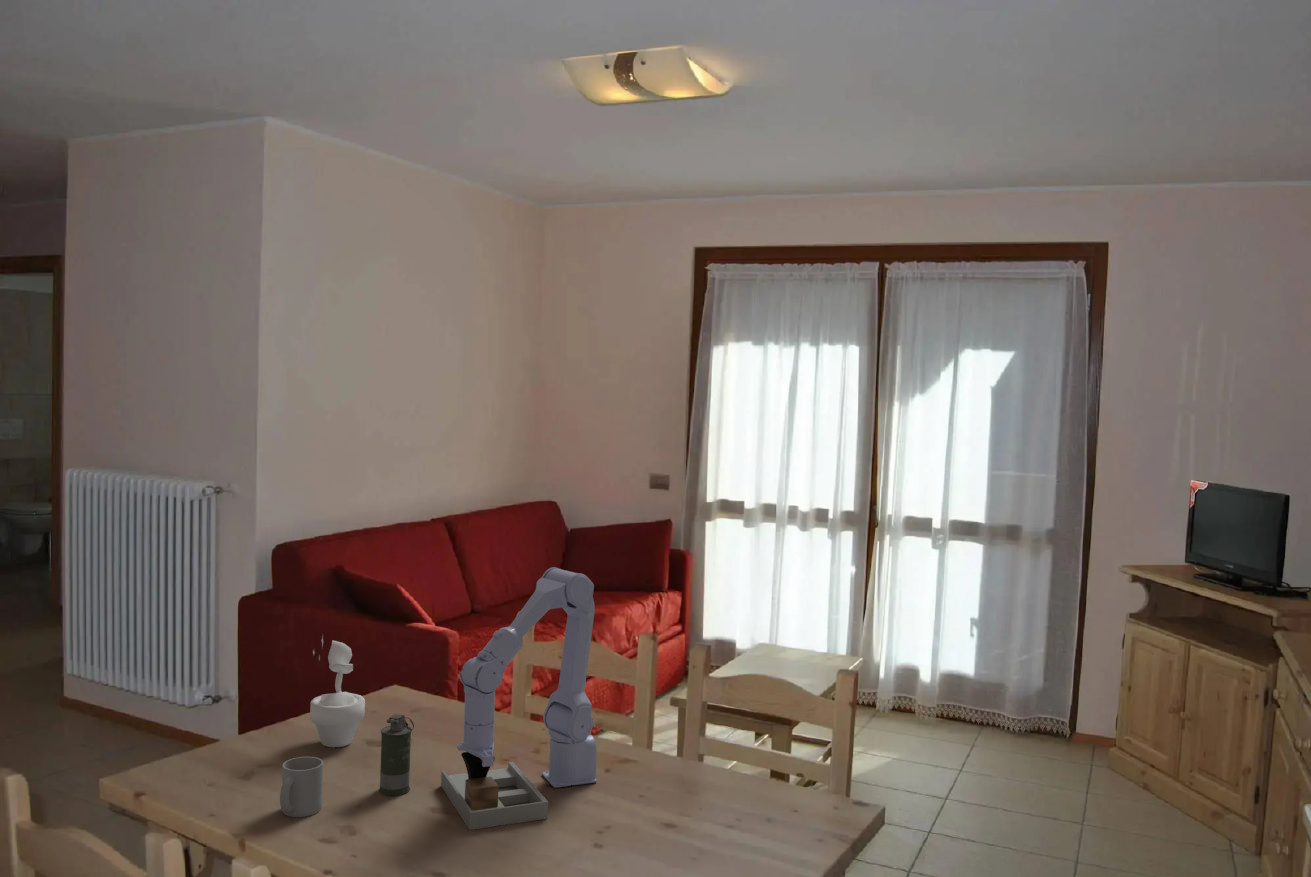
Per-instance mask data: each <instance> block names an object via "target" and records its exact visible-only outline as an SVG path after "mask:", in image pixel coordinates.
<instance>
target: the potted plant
mask: <svg viewBox="0 0 1311 877" xmlns="http://www.w3.org/2000/svg"><path fill="white" fill-rule="evenodd" d="M320 641H321V647H322V648H321V649H324V648H323V647H324V642H325V641H324V634H322V636H321V640H320ZM312 654H313V656H315V654H316V652H315V649H313V650H312ZM352 657H353V653H352V648H351V647H350V646H348V645H347V644H346V643H344V642H342V641H341V642H340V641H337V640H333V639H332V641H331V646H330V649H329V652H328V656H327V659H328V664H329V666H328V668H329V669H330V670H331V671H332V672H334V673H336V677H335V682H334V687H335V691H336V692H333V693H325V694H321V695H319V696H316V697H314V698H313V699H311V701H310V708H309V710H310V713H309V714H310V715H309V716H310V717H309V718H310V719H309V720H310V721H311V722H312V723H313V724H314V725H315V728H316V731H317V734H318V736H319V740H320V743H321V744H322V746H324V747H327V748H335V747H337V748H343V747H346V746H348V745H350V744H351V743H352V742H353V739H354V737H355V734H356V731H357V729H358V726H359V723H360V722H361V721H362V720H363V719H364V718H365V714H366V713H365V709H366V708H365V707H366V699H365V698H364V696H362V695H360V694H357V693H351V692H348V691H342V683H343V676H344V674H346V675H347V674H350V673H351V672H353V670H354V664H353V663H350V662H351V659H352ZM318 660H319V662H320V660H321V655H320V654H319V655H318Z"/></svg>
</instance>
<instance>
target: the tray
mask: <svg viewBox="0 0 1311 877" xmlns="http://www.w3.org/2000/svg"><path fill="white" fill-rule="evenodd" d="M507 766H508V767H506V768H498V769H497V768H495V769H489V771H488V774H487V777H492V778H493V780H494V781H495V782H496V783H497V785H498V786H499V788H498V807H492V808H485V809H477V810H471V808H470V807H469V806H468V804H467V803H466V801H465V781H466V779H468V773H467V772H464V773H455V774H448V773H447V772H446V771H445V769H443V770H441V775H440V776H441V777H440V778H441V779H440V787H441V786H442V787H441V788H442V790H443V791H444V793H445V794H446V796H447V797H448V799H449V800H450V802H451V804H452V805H453V806H454V808H455V809H456V811H457V813H458V814H459V816H460V817H461V819H462V820H463V822H464V823H465V825H466V826H467V828H468V830H469V831H471V830H479V829H486V828H491V827H500V826H504V825H505V824H507V825H511V824H519V823H526V822H532V821H538V820H546V819H548V816H549V815H548V813H549V801H548V800H547V799H546V797H545V796H544V795H543V794H542V793H541V792H540V790H539V789H538V788H537V787H536V786H535V785H534V784H533V783H532V781H531V780H529V778H528V777H527V776H526V774H524V772H522V770H521V769H520V768H519V767H518V766H517V764H516V763H515V761H509V762H508V763H507ZM499 825H500V826H499Z"/></svg>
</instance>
